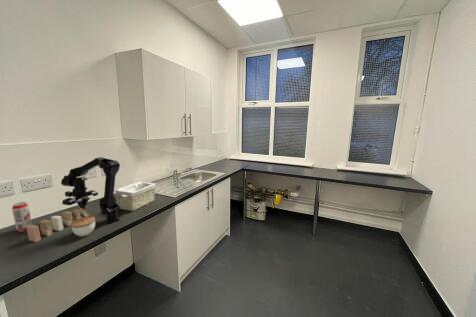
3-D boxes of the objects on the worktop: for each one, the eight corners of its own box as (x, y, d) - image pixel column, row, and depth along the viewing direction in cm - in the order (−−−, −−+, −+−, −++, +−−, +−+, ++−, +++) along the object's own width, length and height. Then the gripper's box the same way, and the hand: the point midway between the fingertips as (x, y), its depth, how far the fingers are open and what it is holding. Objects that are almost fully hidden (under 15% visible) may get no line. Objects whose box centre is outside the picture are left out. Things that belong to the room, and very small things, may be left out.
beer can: (14, 233, 109) (8, 207, 106) (20, 228, 115) (15, 202, 112) (29, 231, 111) (23, 205, 108) (34, 226, 117) (30, 201, 114)
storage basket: (141, 197, 164) (140, 180, 161) (157, 200, 159) (156, 183, 156) (116, 209, 142) (114, 189, 139) (133, 212, 136) (131, 193, 134)
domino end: (34, 238, 106) (31, 224, 104) (41, 239, 104) (38, 225, 103) (29, 240, 103) (26, 226, 102) (35, 242, 102) (33, 228, 101)
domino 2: (57, 227, 116) (55, 215, 114) (63, 228, 115) (61, 216, 113) (52, 229, 114) (50, 216, 112) (59, 230, 113) (57, 218, 111)
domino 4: (76, 218, 126) (71, 208, 123) (82, 219, 125) (77, 209, 122) (72, 220, 124) (68, 210, 121) (78, 221, 123) (74, 211, 120)
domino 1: (46, 232, 111) (44, 219, 109) (52, 234, 110) (50, 220, 108) (41, 234, 109) (39, 221, 107) (48, 236, 107) (45, 222, 106)
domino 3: (67, 223, 121) (65, 211, 120) (73, 224, 120) (71, 212, 118) (63, 224, 119) (61, 212, 118) (69, 226, 118) (67, 213, 116)
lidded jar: (81, 228, 116) (79, 213, 114) (100, 228, 116) (98, 213, 115) (67, 239, 105) (65, 223, 103) (88, 238, 106) (86, 223, 104)
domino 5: (84, 213, 131) (75, 207, 125) (89, 214, 130) (81, 208, 124) (81, 216, 130) (72, 210, 124) (87, 217, 128) (78, 211, 123)
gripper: (84, 181, 135) (87, 202, 138) (53, 190, 118) (57, 214, 121) (97, 183, 133) (99, 204, 136) (67, 192, 115) (71, 216, 118)
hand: (82, 209), depth 128 cm, fingers closed
